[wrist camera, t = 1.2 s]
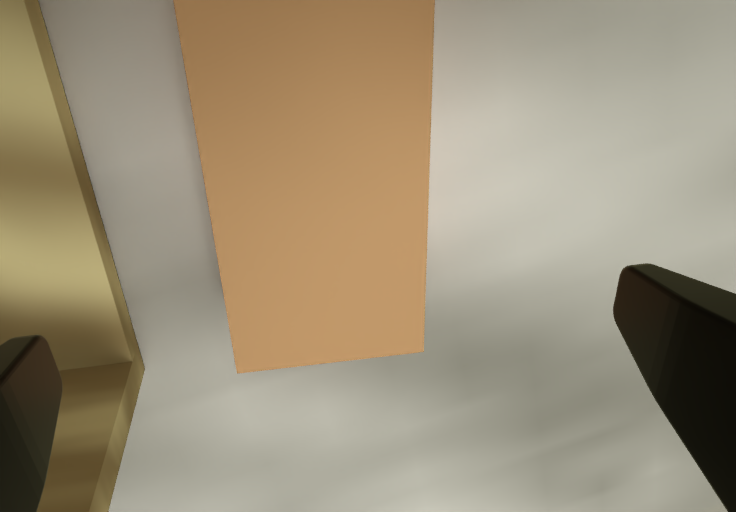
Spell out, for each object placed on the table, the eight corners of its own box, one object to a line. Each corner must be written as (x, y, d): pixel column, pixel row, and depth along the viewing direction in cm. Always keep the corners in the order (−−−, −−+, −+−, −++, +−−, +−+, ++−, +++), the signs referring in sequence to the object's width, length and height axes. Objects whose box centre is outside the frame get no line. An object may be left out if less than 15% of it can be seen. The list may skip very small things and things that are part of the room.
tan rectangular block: (399, 286, 23) (423, 351, 20) (241, 302, 22) (237, 373, 19) (402, -155, 16) (440, -174, 13) (170, -153, 15) (144, -171, 12)
